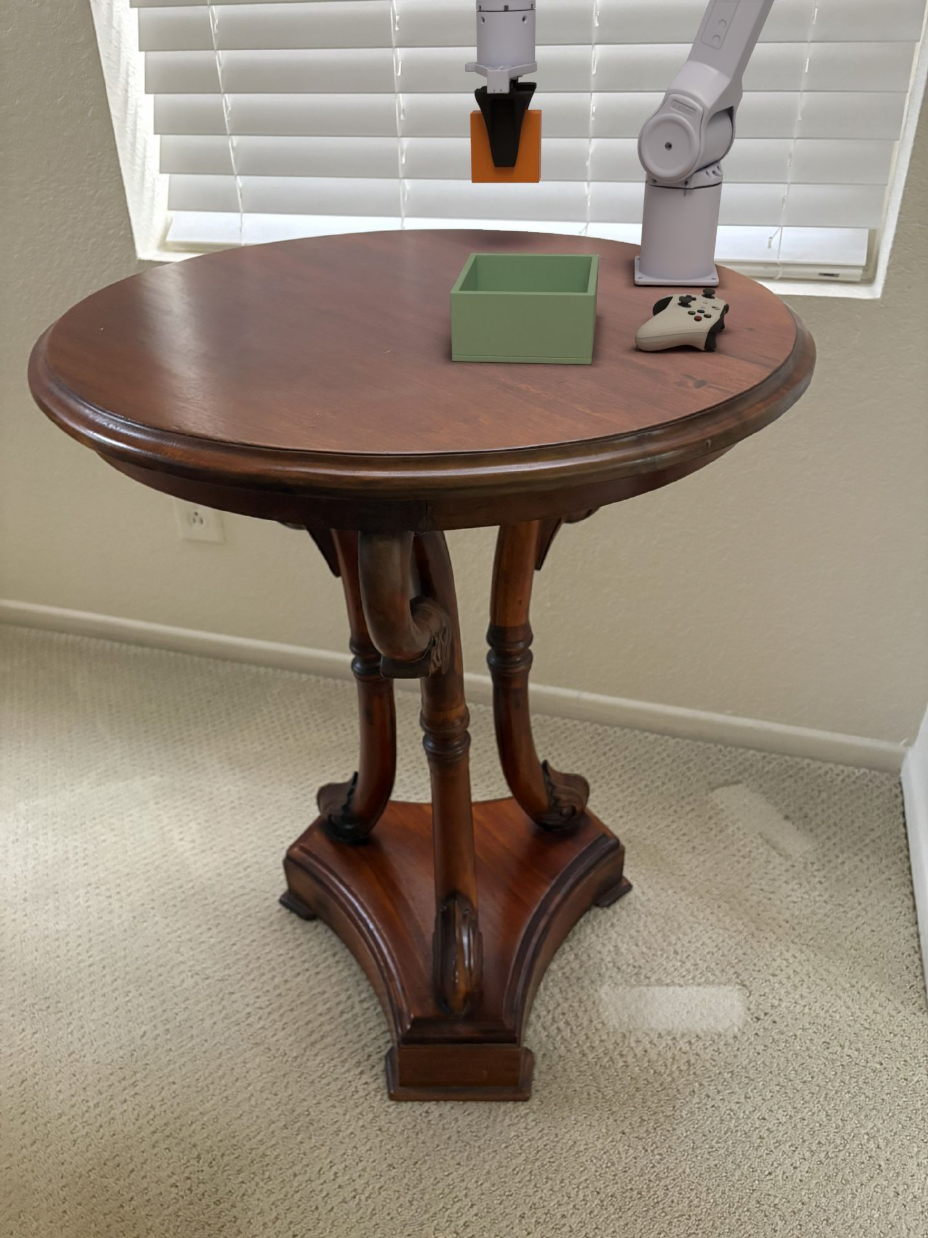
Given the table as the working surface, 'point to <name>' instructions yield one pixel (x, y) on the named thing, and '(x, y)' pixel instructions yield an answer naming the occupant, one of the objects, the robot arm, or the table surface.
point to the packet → (526, 160)
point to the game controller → (683, 322)
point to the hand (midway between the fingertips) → (506, 163)
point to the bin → (525, 308)
